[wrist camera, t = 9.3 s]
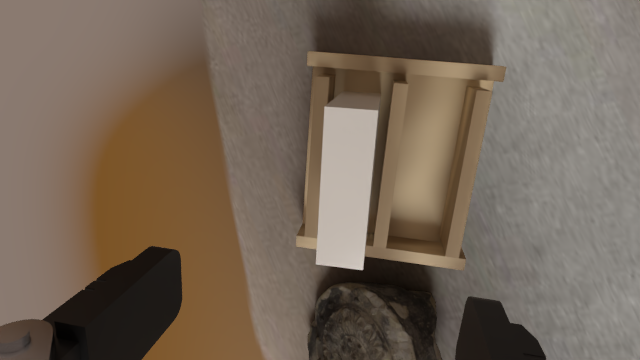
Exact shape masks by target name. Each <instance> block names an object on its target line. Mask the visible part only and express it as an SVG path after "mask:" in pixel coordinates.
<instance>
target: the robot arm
mask: <svg viewBox="0 0 640 360" xmlns="http://www.w3.org/2000/svg"><path fill="white" fill-rule="evenodd" d="M181 302H182V282H181V258H180V254H179V252H178V251H177V250H174V249H167V248H161V247H155V246H151V247H148V248H147V249H146V250H145V251H143V252H142V253H141V254H139V255H138V256H137V257H136V258H134V259H133V260H129V261H126V262H124V263H122V264H120V265H117V266H115V267H112V268H111V269H110V270H108V271H106V272H105V273H104V274H102V275H101V276H100V277H98V278H97V280H96V281H93V282H92V283H90V284H89V285H88V286H87V287H85V290H81V291H80V292H78V293H77V294H76V295H75V296H73V297H72V298H70V299H69V300H68V301H67V302H65V303H64V304H63V305H61V306H60V307H59V308H57V309H56V310H55V311H53V312H52V313H51V314H49V315H48V316H47V317H45V318H44V319H43V320H37V319H28V320H20V321H16V322H12V323H8V324H5V325H3V326H0V360H142V358H143V357H144V356H145V355H146V353H147V352H148V351H149V350H150V349H151V347H152V346H153V345H154V344H155V343H156V341H157V340H158V339H159V338H160V337H161V335H162V334H163V333H164V332H165V331H166V329H167V328H168V327H169V326H170V325H171V323H172V322H173V321H174V319H175V318H176V317H177V315H178V313H179V310H180V307H181ZM455 360H546V356H545V354H544V352H543V350H542V348H541V346H540V344H539V342H538V340H537V339H536V338H535V337H534V336H532V335H531V334H530V333H529V332H528V331H527V330H526V329H525V328H524V327H523V326H522V325H519V324H513V323H510V322H509V320H508V317H507V315H506V313H505V310H504V308H503V306H502V304H501V302H500V301H496V300H490V299H483V298H477V297H468V298H467V301H466V304H465V309H464V313H463V318H462V323H461V327H460V332H459V337H458V341H457V346H456V356H455Z"/></svg>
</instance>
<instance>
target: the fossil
mask: <svg viewBox="0 0 640 360" xmlns="http://www.w3.org/2000/svg"><path fill="white" fill-rule="evenodd" d="M435 303H436V302H435V300H434V298H433V297H432V294H431V293H428V292H423V291H412V290H411V291H407V290H405V289H403V288H401V287H400V286H395V285H389V284H376V283H353V282H345V283H339V284H336V285H333V286H331V287H330V288H328V289H327V290H326V291H325V292H324V293H323V294H322V295H321V296H320V297H319V298H318V300H317V302H316V306H315V313H316V315H315V320H314V321H313V322H312V323H311V328H310V332H309V334H308V350H309V360H442V358H441V355H440V351H439V349H438V346H437V344H436V342H435V336H434V335H435V328H436V319H437V317H436V310H435V308H436V305H435Z"/></svg>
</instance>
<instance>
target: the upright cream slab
mask: <svg viewBox="0 0 640 360" xmlns="http://www.w3.org/2000/svg"><path fill="white" fill-rule="evenodd" d="M380 103H381V93H366V92H352V91H343V92H342V93H340V94H339V95H338V96H337V97H335V98H334V99H333V100H332V101H331V102H329V103H328V104H327V105H326V106H325V107H324V125H323V143H322V162H321V180H320V198H319V217H318V235H317V253H316V264H318V265H325V266H333V267H341V268H349V269H356V270H363V266H364V257H365V249H366V241H367V232H368V224H369V216H370V206H371V196H372V186H373V175H374V165H375V155H376V144H377V134H378V124H379V113H380Z"/></svg>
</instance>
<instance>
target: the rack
mask: <svg viewBox="0 0 640 360" xmlns="http://www.w3.org/2000/svg"><path fill="white" fill-rule="evenodd" d="M307 66H313V73H312V88H311V104H310V119H309V134H308V150H307V165H306V180H305V196H304V211H303V224H302V226H301V228H300V230H299V232H298V234H297V238H296V246H297V247H304V248H311V249H317V235H318V217H319V198H320V180H321V162H322V143H323V125H324V107H325V106H326V105H327V104H328V103H329V102H331V101H332V100H333V99H334V98H335V97H337V96H338V95H339V94H340V93H342V92H343V91H352V92H366V93H381V103H380V113H379V124H378V134H377V144H376V155H375V165H374V175H373V186H372V196H371V206H370V216H369V224H368V232H367V241H366V249H365V256H366V257H373V258H380V259H387V260H394V261H401V262H408V263H415V264H422V265H429V266H436V267H443V268H450V269H457V270H464V267H465V262H466V258H465V255H464V253H463V250H462V247H461V244H462V239H463V235H464V230H465V225H466V220H467V215H468V210H469V205H470V200H471V195H472V190H473V185H474V180H475V175H476V170H477V165H478V161H479V156H480V151H481V146H482V141H483V136H484V131H485V126H486V121H487V116H488V111H489V106H490V101H491V96H492V88H493V83H494V81H499V82H503V80H504V76H505V71H506V67H504V66H495V65H483V64H470V63H457V62H444V61H431V60H419V59H406V58H393V57H380V56H367V55H354V54H342V53H329V52H315V51H308V57H307Z"/></svg>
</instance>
